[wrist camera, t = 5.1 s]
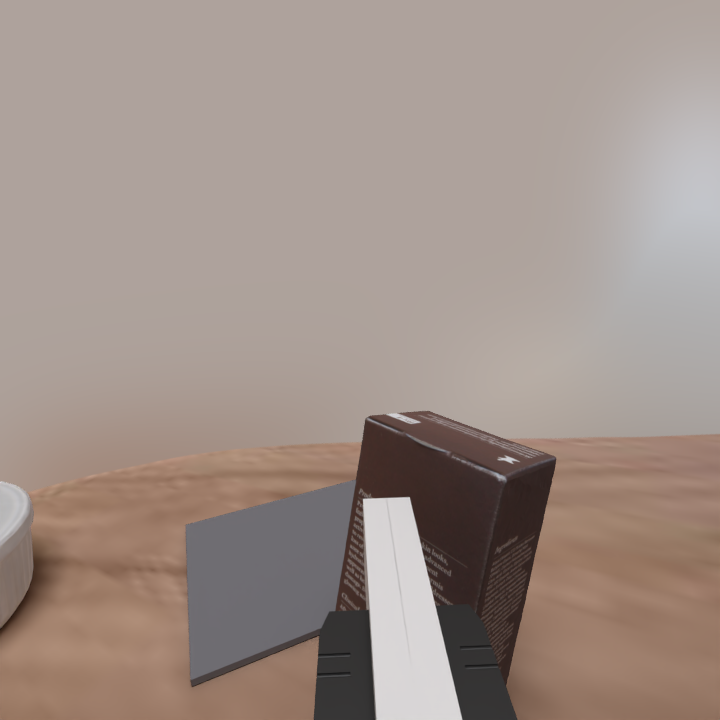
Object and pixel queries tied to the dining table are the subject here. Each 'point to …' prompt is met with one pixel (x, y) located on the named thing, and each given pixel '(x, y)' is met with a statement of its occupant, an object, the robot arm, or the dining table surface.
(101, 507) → the dining table surface
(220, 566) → the mat
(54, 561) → the dining table surface
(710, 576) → the dining table surface
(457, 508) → the box
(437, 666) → the robot arm
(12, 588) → the ramekin
